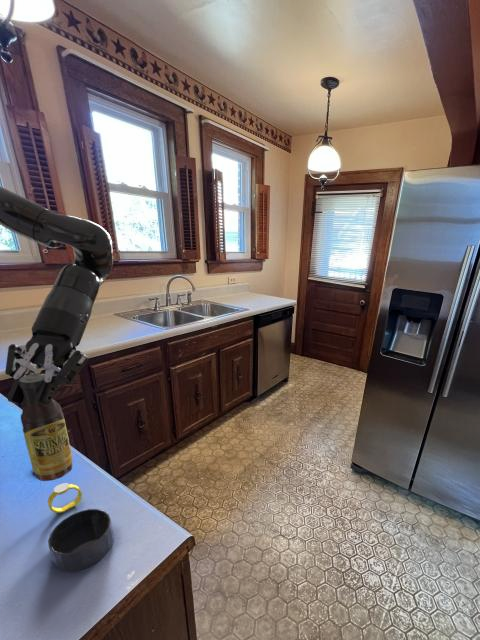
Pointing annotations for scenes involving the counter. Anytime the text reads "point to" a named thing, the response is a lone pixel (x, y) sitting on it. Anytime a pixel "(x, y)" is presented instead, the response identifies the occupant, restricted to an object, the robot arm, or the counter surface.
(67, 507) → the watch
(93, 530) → the pan
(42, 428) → the sauce bottle
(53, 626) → the counter surface
